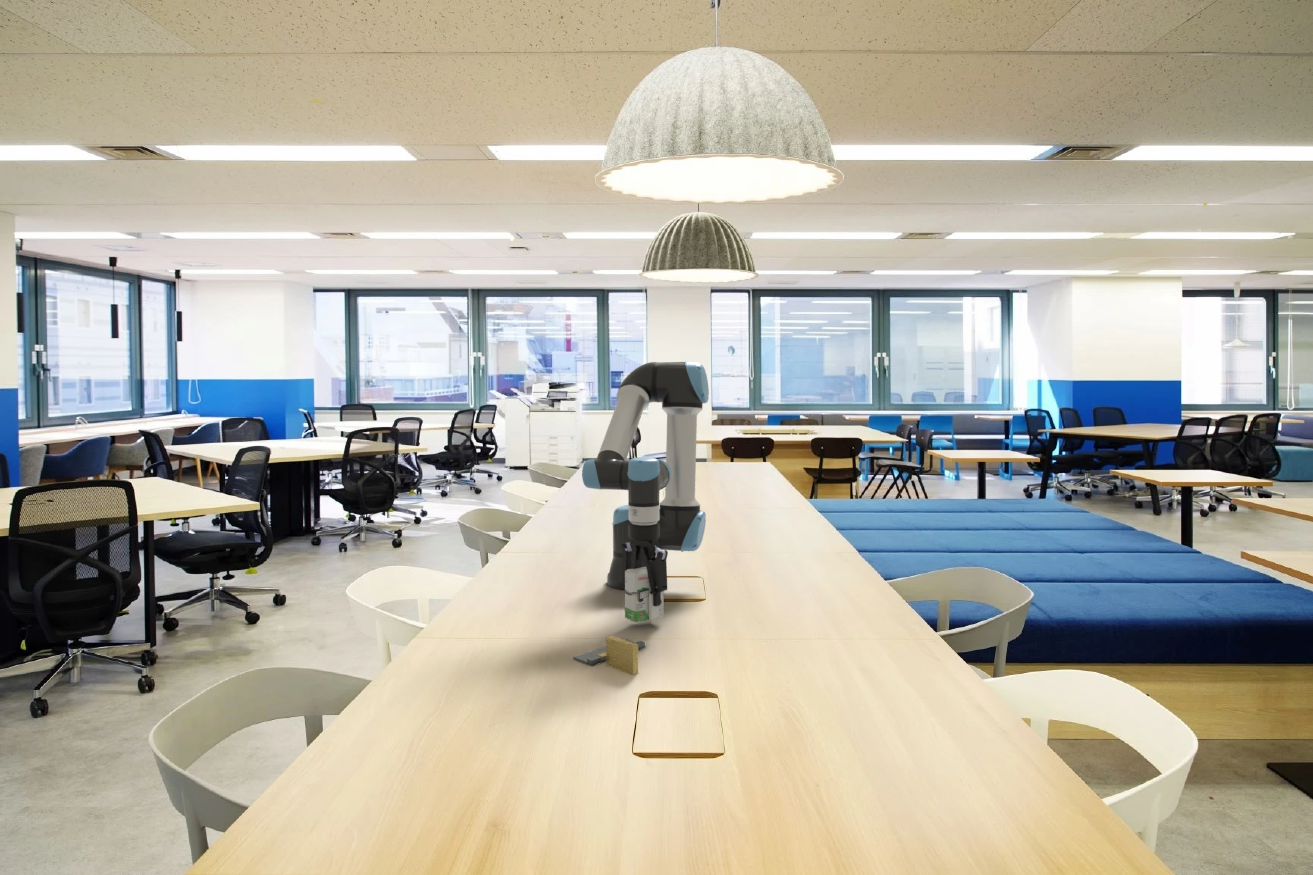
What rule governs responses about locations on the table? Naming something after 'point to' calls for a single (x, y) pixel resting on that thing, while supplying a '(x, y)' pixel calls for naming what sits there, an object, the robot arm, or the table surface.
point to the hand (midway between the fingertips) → (644, 615)
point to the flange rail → (615, 655)
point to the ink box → (638, 595)
